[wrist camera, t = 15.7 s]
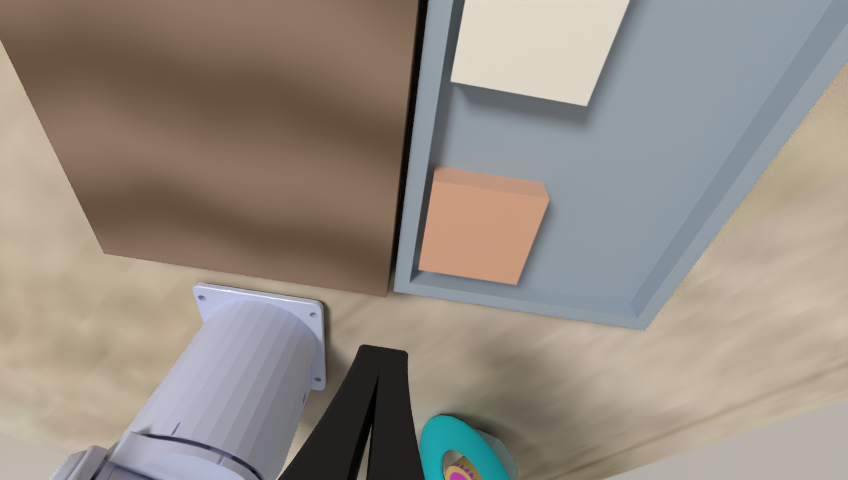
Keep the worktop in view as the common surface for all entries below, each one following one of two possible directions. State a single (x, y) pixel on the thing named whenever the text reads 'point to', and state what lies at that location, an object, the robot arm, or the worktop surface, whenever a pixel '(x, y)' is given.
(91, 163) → the walnut board
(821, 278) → the worktop surface
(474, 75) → the cream tile
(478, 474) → the ornament
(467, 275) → the terracotta tile
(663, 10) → the box
